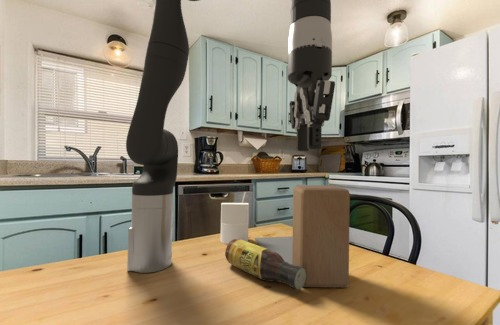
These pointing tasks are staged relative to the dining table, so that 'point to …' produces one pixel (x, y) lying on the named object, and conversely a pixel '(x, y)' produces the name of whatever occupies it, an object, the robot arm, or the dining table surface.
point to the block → (321, 234)
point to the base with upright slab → (234, 221)
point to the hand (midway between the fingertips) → (308, 149)
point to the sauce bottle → (264, 263)
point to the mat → (278, 246)
